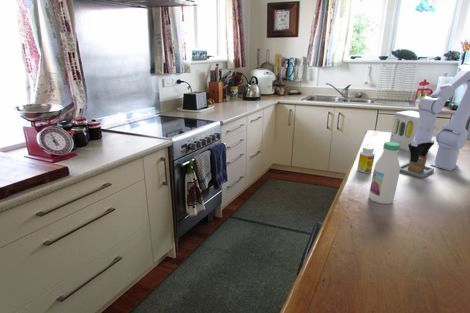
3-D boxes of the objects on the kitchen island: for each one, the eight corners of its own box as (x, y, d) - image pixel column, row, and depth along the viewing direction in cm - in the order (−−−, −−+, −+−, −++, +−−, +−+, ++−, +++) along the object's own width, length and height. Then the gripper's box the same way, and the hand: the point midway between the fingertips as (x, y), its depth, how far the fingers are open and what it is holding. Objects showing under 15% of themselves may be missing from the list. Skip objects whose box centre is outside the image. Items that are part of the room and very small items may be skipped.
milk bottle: (391, 196, 110) (403, 141, 103) (394, 206, 103) (407, 148, 96) (368, 192, 112) (378, 138, 105) (369, 202, 105) (380, 145, 99)
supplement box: (387, 144, 166) (394, 112, 160) (404, 141, 172) (411, 110, 166) (411, 152, 155) (419, 117, 149) (427, 149, 161) (436, 115, 155)
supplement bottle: (365, 174, 128) (370, 150, 124) (354, 170, 132) (358, 146, 129) (374, 171, 131) (378, 148, 127) (362, 167, 135) (366, 144, 131)
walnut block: (412, 167, 135) (415, 154, 133) (423, 170, 131) (427, 157, 129) (407, 169, 132) (410, 156, 130) (418, 173, 129) (422, 159, 127)
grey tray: (408, 164, 139) (409, 161, 139) (433, 172, 132) (434, 168, 132) (396, 170, 132) (396, 167, 132) (421, 179, 125) (422, 175, 124)
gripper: (428, 132, 118) (420, 166, 123) (443, 127, 127) (435, 158, 132) (409, 128, 123) (402, 161, 128) (424, 123, 132) (417, 154, 137)
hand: (417, 159), depth 130 cm, fingers open, 7 cm apart
